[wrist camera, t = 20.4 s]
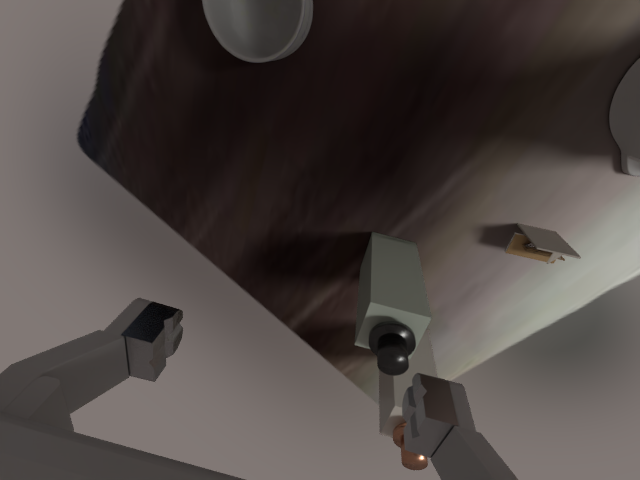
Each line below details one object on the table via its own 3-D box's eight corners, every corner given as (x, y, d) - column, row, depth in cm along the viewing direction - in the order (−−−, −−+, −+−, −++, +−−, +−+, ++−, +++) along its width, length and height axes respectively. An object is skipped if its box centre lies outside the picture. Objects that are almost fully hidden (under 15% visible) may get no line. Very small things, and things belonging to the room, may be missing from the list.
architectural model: (543, 250, 50) (568, 279, 44) (497, 239, 51) (514, 267, 44) (555, 230, 49) (582, 257, 42) (507, 219, 49) (527, 245, 43)
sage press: (416, 243, 52) (431, 318, 38) (401, 278, 56) (410, 359, 41) (372, 231, 52) (370, 302, 38) (360, 267, 56) (354, 344, 41)
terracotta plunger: (424, 346, 58) (442, 458, 42) (413, 366, 60) (427, 478, 44) (394, 338, 58) (401, 446, 42) (385, 358, 60) (388, 467, 45)
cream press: (428, 329, 60) (445, 419, 45) (415, 355, 64) (426, 446, 49) (390, 319, 60) (394, 405, 46) (378, 346, 64) (379, 434, 49)
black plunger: (410, 258, 50) (426, 354, 34) (399, 285, 52) (408, 387, 37) (376, 249, 50) (376, 341, 34) (366, 277, 52) (362, 374, 37)
